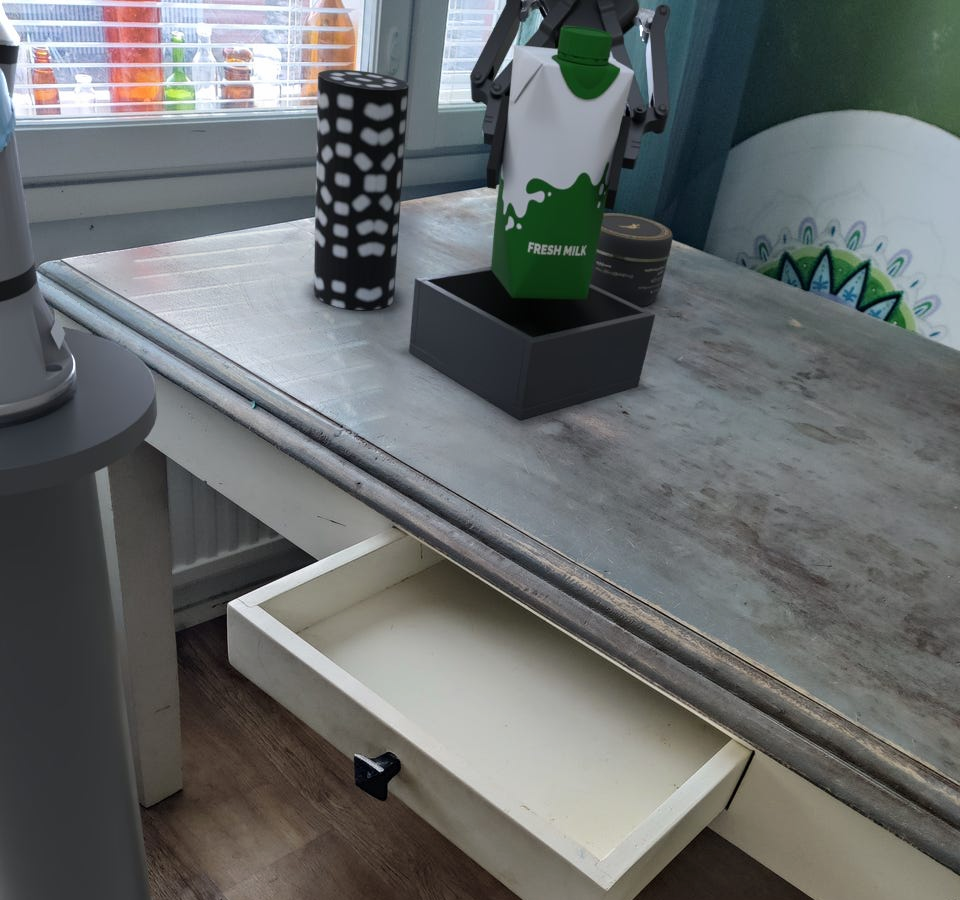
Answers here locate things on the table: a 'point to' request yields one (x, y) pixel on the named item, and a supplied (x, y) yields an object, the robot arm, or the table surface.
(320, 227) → the white-spotted black cylinder
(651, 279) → the jar
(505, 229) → the milk carton
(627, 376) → the basket
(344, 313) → the table surface
